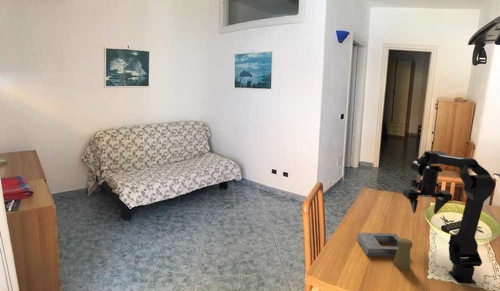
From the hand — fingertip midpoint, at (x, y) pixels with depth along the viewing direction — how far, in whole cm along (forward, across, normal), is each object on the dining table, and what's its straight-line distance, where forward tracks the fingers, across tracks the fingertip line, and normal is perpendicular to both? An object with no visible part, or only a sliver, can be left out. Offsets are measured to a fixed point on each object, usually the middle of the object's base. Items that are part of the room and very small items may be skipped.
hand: (424, 213), depth 138 cm
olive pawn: (+14, +16, +18) cm, 28 cm away
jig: (+14, +20, +6) cm, 25 cm away
